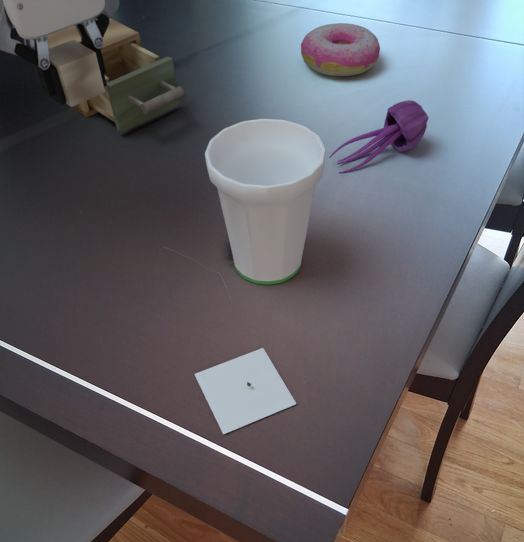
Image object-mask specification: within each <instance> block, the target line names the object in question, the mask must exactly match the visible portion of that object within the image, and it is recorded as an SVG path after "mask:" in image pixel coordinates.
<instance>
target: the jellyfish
mask: <svg viewBox="0 0 524 542" xmlns="http://www.w3.org/2000/svg"><path fill="white" fill-rule="evenodd" d="M386 111H387V112H386V116H385V119H384V123H383V127H381V128H378V129H375V130H372V131H370V132H365V133H364V134H361V135H358V136H355V137H353V138H351V139H349V140H347V141H346V142H344V143H343V144H342V145H340V146H339V147H337V148H336V149H335V150H334V151H333V152H332V153H331V155H330V156H329V157H328V158H329V159H331V158H332V157H333V156H334V155H335V154H336V153H337V152H338V151H340V150H341V149H343V148H344V147H346V146H348V145H350V144H352V143H355V142H359V141H362V140H365V139H369V138H371V139H370V140H369V141H368V142H366V144H364V145H363V146H362V147H360V148H359V149H358V150H356V151H354V152H353V153H351V154H350V155H348V156H346V157H344V158H341V159H339V160H337V163H336V165H342V164H345V163H349V162H352V161H355V160H357V159H359V158H362V157H364V156H366V155H368V154H370V153H371V152H373V151H374V152H373V153H371V154H370V155H369V156H368V157H367V158H366V159H364V160H363V161H362V162H360V163H359V164H357V165H355V166H353V167H351V168H349V169H345V170H342V171H338V174H342V173H343V174H344V173H349V172H353V171H355V170H358V169H360V168H362V167H363V166H365V165H366V164H368V163H370V162H371V161H373V160H374V159H375V158H376V157H378V155H380V154H382V152H383V151H385V149H387V148H388V147H389V146H390V145H391V146H393V147H394V149H395V150H396V151H397V152H406V151H407V152H408V151H410V150H413V149H414V148H415V147H416V146H418V145H419V143H420V142H421V140H422V139H423V137H424V135H425V133H426V131H427V128H428V120H429V115H428V114H427V112H426V111H425V110H424V108H423V106H422V105H421V104H419V103H418V102H416V101H415V100H412V99H410V100H409V99H407V100H403V101H399V102H396V103H394V104H392V106H390V107H388V108H387V110H386Z"/></svg>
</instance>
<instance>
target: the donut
mask: <svg viewBox="0 0 524 542" xmlns="http://www.w3.org/2000/svg"><path fill="white" fill-rule="evenodd" d="M380 53H381V45H380V42H379V39H378V37H377V36H376V35H375V33H373V32H372V31H371V30H369V29H368V28H367V27H365V26H362V25H359V24H355V23H348V22H347V23H344V22H338V23H329V24H324V25H321V26H318V27H316V28H313V29H312V30H311V31H309V32H307V33H306V34H305V35H304V37H303V39H302V41H301V43H300V55H301V57H302V59H303V61H304V63H305V64H306V65H307V66H308V67H309V68H311V69H312V70H313V71H315V72H317V73H319V74H322V75H325V76H332V77H350V76H351V77H352V76H356V75H361V74H362V73H365V72H367V71H368V70H371V69H372V68H373V67H374V66H375V64H376V63H377V61H378V60H379V57H380Z"/></svg>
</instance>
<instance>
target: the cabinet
mask: <svg viewBox="0 0 524 542" xmlns="http://www.w3.org/2000/svg"><path fill="white" fill-rule="evenodd" d="M47 38H48V48H52V47H54V46H57V45H60V44H62V43H65V42H68V41H70V40H73V39H74V40H76V41H77V42H81V37H80V35H79V33H78V31H77V29H76V27H75V25H74V26H72V27H69V28H66V29H63V30H61V31H58V32H55V33H52V34H49V35H47ZM103 40H104V45H103V47H102V48H101V53H104V52H107V51H109V50H112V49H114V48H116V47H119V46H121V45H124V44H126V43H129V42H133V43H135V44H137V45H139V46H141V47H142V48H143V46H142V41H141V37H140V33H139V32H138V31H136V30H135V29H132V28H130V27H128V26H126V25H124V24H122V23H120V22H119V21H116V20H115V19H113V18H110V20H109V25H108V28H107V30H106V32H105V35H104V37H103ZM32 66H33V67H34V64H32ZM34 71H35V74H36V76H37V73H36V70H35V67H34ZM37 78H38V76H37ZM71 108H72V109H73V110H75V111H76V112H78V113H80V114H81V115H83V116H84V117H85V118H89V117H92V116H93V115H96V114H97V113H99V112H98V111H97V110H95V109H94V108H92V107H91V106H89V105H88V103H87V101H85V102H82V103H80V104H78V105H75V106H73V107H71Z"/></svg>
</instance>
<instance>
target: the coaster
mask: <svg viewBox="0 0 524 542" xmlns="http://www.w3.org/2000/svg"><path fill="white" fill-rule="evenodd" d="M194 377H195V379H196V381H197V383H198V385H199V387H200V390H201V391H202V394H203V396H204V398H205V401H206V402H207V404H208V406H209V408H210V410H211V412H212V414H213V416H214V418H215V421H216V422H217V424H218V427H219V428H220V431H221V433H222V435H226V434H227V433H231V432H232V431H235V430H237V429H240V428H243V427H245V426H247V425H250V424H252V423H254V422H257V421H259V420H262V419H265V418H266V417H269V416H272V415H273V414H276V413H278V412H281V411H283V410H285V409H288V408H291V407H293V406H295V405H297V402H296V400H295V398H294V397H293V395H292V393H291V392H290V390H289V389H288V387H287V385H286V383H285V382H284V380H283V379H282V377H281V375H280V374H279V372H278V370H277V368H276V367H275V365H274V364H273V362H272V360H271V358H270V357H269V354H268V353H267V352H266V350H265V348H264V347H261V348H259V349H256V350H253V351H251V352H248V353H245V354H243V355H240V356H238V357H235V358H233V359H229V360H227V361H224V362H222V363H220V364H217V365H214V366H212V367H208V368H207V369H204V370H201V371H199V372H196V373H194Z"/></svg>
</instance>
